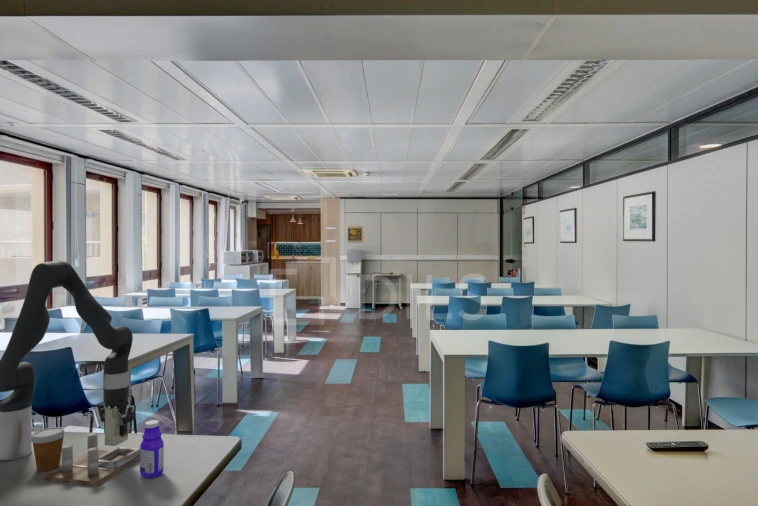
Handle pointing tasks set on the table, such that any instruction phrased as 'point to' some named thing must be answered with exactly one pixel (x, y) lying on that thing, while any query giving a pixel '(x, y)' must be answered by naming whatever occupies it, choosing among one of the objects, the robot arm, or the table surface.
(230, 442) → the table surface
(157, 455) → the bottle
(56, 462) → the disposable coffee cup
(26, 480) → the table surface
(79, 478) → the pin board
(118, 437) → the skincare box
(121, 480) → the table surface
